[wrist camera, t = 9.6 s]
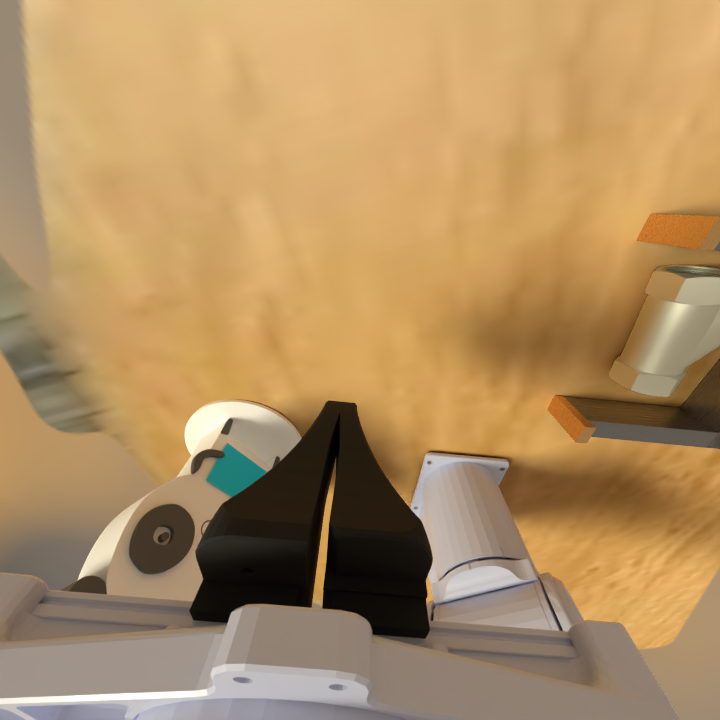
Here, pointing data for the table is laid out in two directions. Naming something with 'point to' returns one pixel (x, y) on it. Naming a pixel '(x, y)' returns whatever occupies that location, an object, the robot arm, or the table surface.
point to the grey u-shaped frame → (642, 421)
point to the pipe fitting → (671, 329)
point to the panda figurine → (186, 504)
